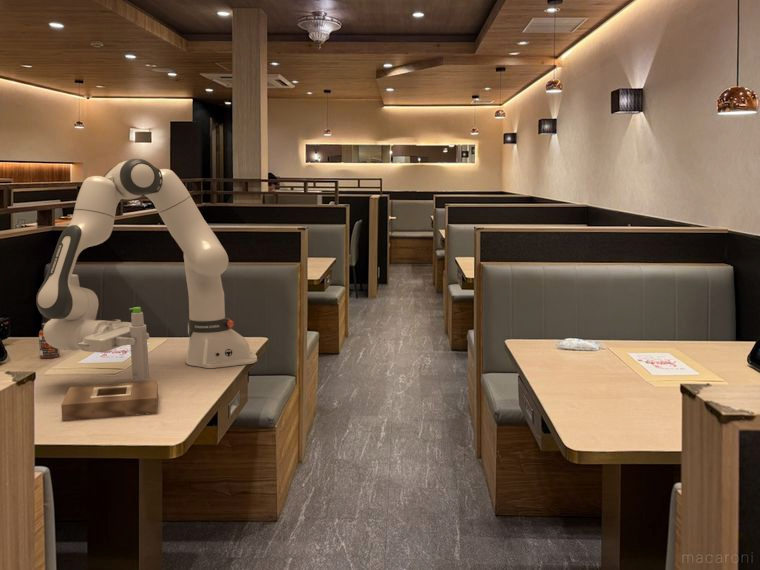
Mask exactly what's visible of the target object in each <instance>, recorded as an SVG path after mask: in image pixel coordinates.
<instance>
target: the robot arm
mask: <svg viewBox="0 0 760 570" xmlns="http://www.w3.org/2000/svg"><path fill="white" fill-rule="evenodd" d="M142 196H144V197H147V199H149V200H150V201H151V202H152V203H153V205H154V207H155V210H156V211H157V213H158V214H159V216H160V218H161V220H162V222H163V223H164V225H165V226H166V228H167V230H168V232H169V234H170V235H171V237H172V238H173V239H174V241H175V242H176V244H177V245H178V247H179V248H180V249H181V251H182V252H183V260H184V270H185V272H184V273H185V278H186V279H185V280H186V284H187V285H186V287H187V292H188V294H187V295H188V312H189V313H188V314H189V315H188V316H189V317H188V320H187V322H188V323H187V335H188V337H189V340H188V350H187V355H186V359H185V363H186V364H187V365H189V366H192V367H198V368H199V367H200V368H204V369H215V368H225V367H233V366H241V365H242V366H243V365H244V366H245V365H252V364H255V363H256V362H257V361H258V356H257V355H256V353H255V352H253V351H251V348H250V344H249V342H248V340H247V339H246V338H245V337H244V336H242V335H241V334H240V333H238V332H237V331H235V330H234V329H233V326H235V324H234V321H233V320H232V319H230V318H228V317H226V311H225V310H226V308H225V307H226V306H225V305H226V303H225V291H224V288H223V282H222V278H221V277H222V274H223V273H224V272H226V270H227V268H228V265H229V256H228V254H227V251H226V249H225V248H224V247H223V245H222V244H221V242H220V240H219V239H218V237H217V235H216V234H215V232H214V231H213V230H212V228H211V227H210V226H209V224H208V223H207V221H206V220H205V219H204V217H203V215H202V213H201V211H200V210H199V208H198V207H197V204H196V203H195V201H194V200H193V198H192V196H191V194H190V192H189V191H188V189H187V188H186V186H185V185H184V182H182V180H181V179H180V177H179V176H178V175H177V174H176V173H175V172H174V171H173V170H171V169H170V168H160V169H159V168H157V167H155V166H154V165H153V164H152V163H151V162H149V161H147V160H146V159H142V158H131V159H129V160H125V161H121V162H120V163H118V164H117V165H115V166H113V167H111V168H110V169H109V170H108V171H107V172H106V173H105V174H104V175H103V176H101V175H91V176H89V177H87V178H85V180H84V181H83V182H82V185H81V186H80V189H79V192H78V194H77V197H76V201H75V205H74V210H73V214H72V218H71V220H70V222H69V224H68V226H66V227H65V228H64V229H63V231H62V232H61V234H60V236H59V238H58V240H57V243H56V246H55V249H54V252H53V255H52V258H51V261H50V264H49V267H48V270H47V273H46V275H45V278H44V281H43V282H42V284H41V285H40V287H39V289H38V292H37V293H36V299H35V300H36V307H37V309H38V312H39V313H40V315H42V316H43V317H44V318H46V319H48V321H47V322H45V323H46V324H45V326H44V328H43V335H44V338H45V340H46V342H47V343H48V344H49V345H50V346H52V347H54V348H57V349H59V350H63V351H75V352H76V351H79V350H80V351H83V352H89V353H106V352H109V351H112V350H115V349H117V348H120V347H123V346H131V345H134V344H136V343H137V341H136V340H137V339H136V338H135V337H134V338H133V337H130V326H131V325H132V322H131V321H130V322H129V321H122V320H121V319H110V320H100V319H97V316H98V314H99V313H98V312H99V308H100V301H99V298H98V295H97V294H96V292H95V291H94V290H92V289H90V288H87V287H86V288H85V287H82V286H80V287H77V286H72V285H70V279H71V275H72V274H73V272H74V269H75V267H76V262H77V261H78V257H79V255H80V254H81V252H83V250H86V249H87V248H89V247H94V246H98V245H100V244H103V243H104V242H106V241H107V240H108V239H109V238H110V237H111V235H112V233H113V229H114V223H115V219H116V213H117V212H116V211H117V207H118V206H119V205H118V204H119V203H120V202H121V201H122V202H123V201H124V202H125V201H130V200H134V199H139V198H140V197H142ZM149 339H150V334H149V332H147V340H149Z"/></svg>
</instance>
